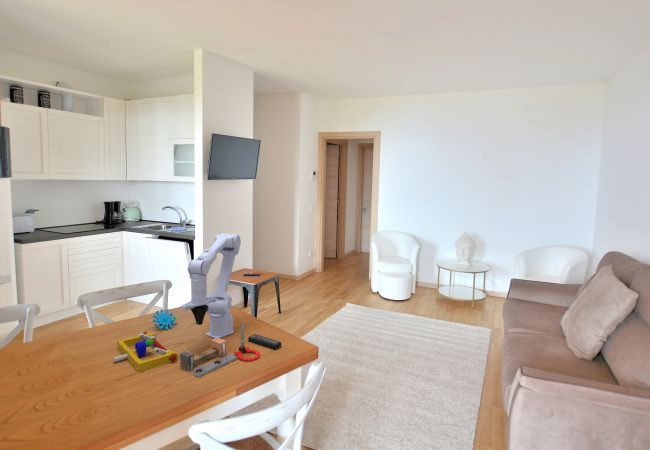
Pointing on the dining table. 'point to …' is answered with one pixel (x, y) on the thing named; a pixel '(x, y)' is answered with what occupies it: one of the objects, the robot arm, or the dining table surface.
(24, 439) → the dining table surface
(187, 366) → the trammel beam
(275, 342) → the multiport hub
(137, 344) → the yellow frame mechanism
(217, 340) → the block
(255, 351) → the tow hook
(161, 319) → the gear
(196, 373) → the steel strip
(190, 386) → the dining table surface
